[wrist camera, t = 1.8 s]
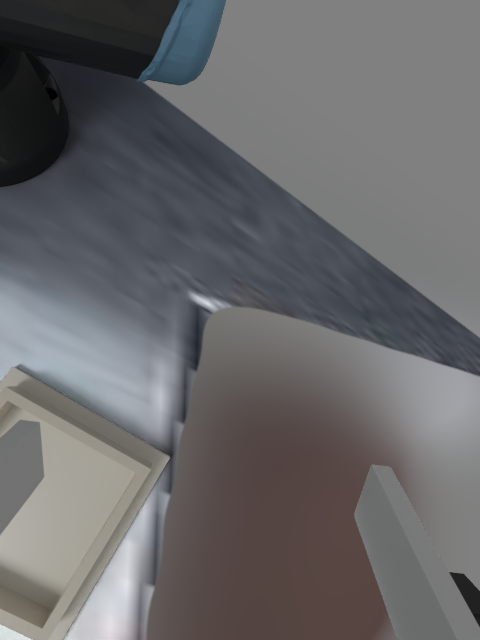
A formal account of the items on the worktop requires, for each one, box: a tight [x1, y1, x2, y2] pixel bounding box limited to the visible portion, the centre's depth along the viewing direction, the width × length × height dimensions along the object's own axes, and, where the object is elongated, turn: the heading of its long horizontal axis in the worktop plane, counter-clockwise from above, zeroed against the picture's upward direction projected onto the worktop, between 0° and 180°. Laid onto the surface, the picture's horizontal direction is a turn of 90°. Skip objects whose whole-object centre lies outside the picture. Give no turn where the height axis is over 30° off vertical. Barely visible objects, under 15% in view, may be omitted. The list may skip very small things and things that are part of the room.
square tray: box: [0, 367, 170, 640], centre depth 26 cm, size 16×16×2 cm
